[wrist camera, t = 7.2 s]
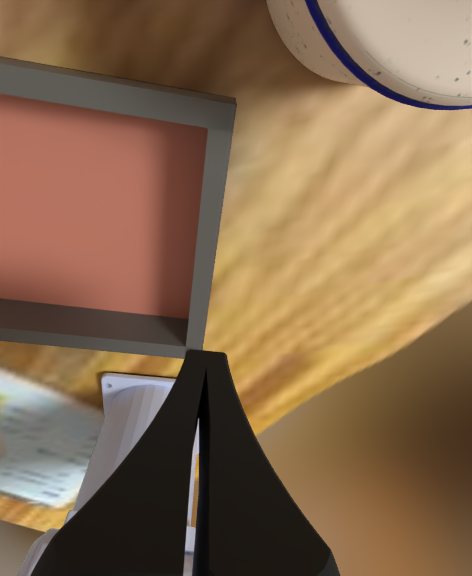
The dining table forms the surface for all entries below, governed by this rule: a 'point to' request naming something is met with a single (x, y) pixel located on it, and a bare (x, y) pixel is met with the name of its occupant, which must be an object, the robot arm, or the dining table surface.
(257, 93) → the dining table surface
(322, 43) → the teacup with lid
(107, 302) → the grey and pink tray
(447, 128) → the dining table surface
